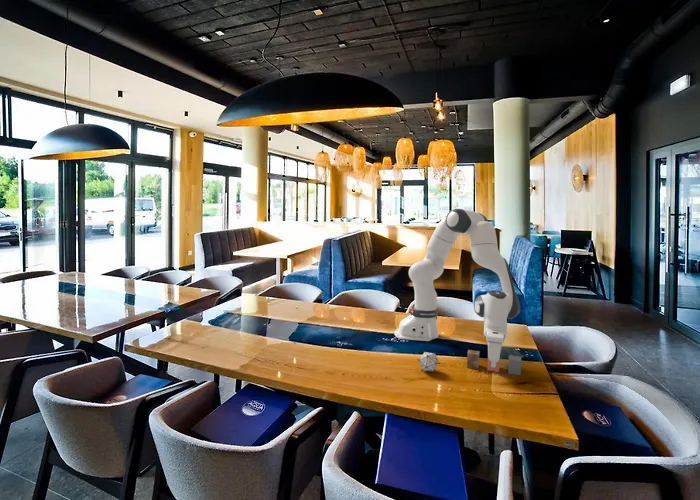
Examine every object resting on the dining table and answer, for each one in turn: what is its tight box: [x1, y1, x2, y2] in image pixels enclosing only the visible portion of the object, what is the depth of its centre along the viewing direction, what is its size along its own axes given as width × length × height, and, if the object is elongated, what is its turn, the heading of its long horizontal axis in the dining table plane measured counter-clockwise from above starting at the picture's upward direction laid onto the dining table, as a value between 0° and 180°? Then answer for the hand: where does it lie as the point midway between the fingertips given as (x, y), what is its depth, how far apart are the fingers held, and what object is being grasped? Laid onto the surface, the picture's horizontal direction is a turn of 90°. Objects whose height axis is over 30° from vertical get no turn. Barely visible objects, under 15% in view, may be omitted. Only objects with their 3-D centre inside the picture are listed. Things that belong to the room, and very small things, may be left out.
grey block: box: [507, 354, 522, 376], centre depth 158 cm, size 4×4×6 cm
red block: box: [486, 355, 501, 373], centre depth 161 cm, size 4×4×6 cm
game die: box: [416, 350, 442, 374], centre depth 158 cm, size 9×8×10 cm
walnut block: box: [466, 349, 480, 370], centre depth 164 cm, size 4×4×6 cm
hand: (493, 364), depth 161 cm, fingers closed on red block, 4 cm apart
